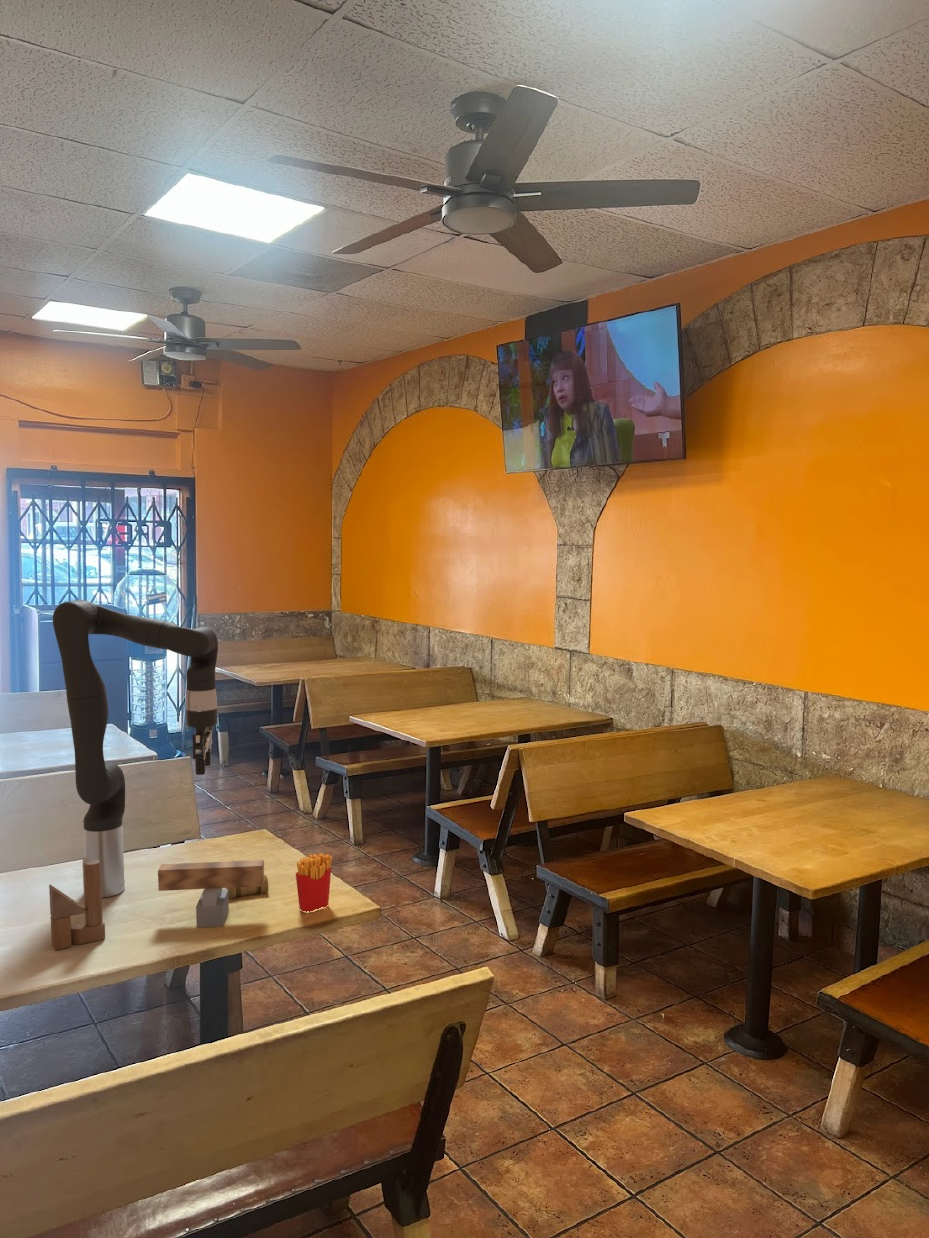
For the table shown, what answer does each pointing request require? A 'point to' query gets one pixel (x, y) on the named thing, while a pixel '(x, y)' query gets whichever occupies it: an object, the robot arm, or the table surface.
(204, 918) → the steps
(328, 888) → the french fries
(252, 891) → the gavel
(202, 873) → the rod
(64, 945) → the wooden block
